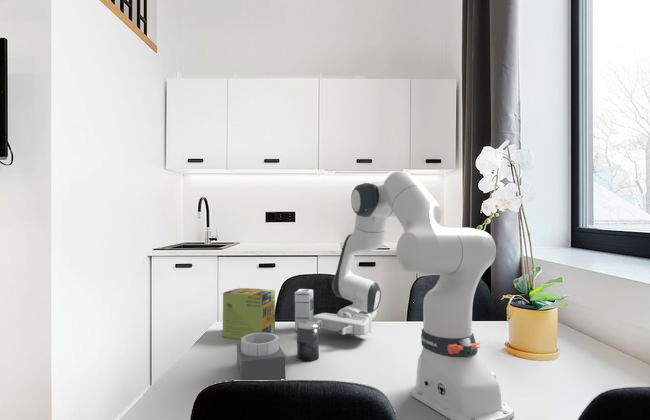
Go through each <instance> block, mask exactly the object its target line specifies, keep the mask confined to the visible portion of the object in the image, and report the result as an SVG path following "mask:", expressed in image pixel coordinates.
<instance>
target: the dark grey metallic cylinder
mask: <svg viewBox="0 0 650 420" xmlns="http://www.w3.org/2000/svg"><path fill="white" fill-rule="evenodd" d="M319 336H320V329H319V324H318V322H315V321H302V322H299V323H298V327H297V331H296V338H297V339H296V340H297V341H296V342H297V344H296V346H297V347H296V349H297V350H296V351H297V352H296V356H297V357H296V359H297V360H298V361H300V362H304V363H311V362H316V361H318V360H319V358H320V337H319Z"/></svg>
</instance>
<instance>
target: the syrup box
mask: <svg viewBox="0 0 650 420" xmlns="http://www.w3.org/2000/svg"><path fill="white" fill-rule="evenodd" d="M314 306H315V305H314V289H310V288H298V290H297V291H295V292H294V326H295V327H294V328H295V330H294V331H295V332H297V327H298V323H299V322H302V321H312V317H313V316H314V315H315V313H314V312H315V311H314V310H315V309H314Z"/></svg>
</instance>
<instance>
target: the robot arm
mask: <svg viewBox="0 0 650 420" xmlns="http://www.w3.org/2000/svg"><path fill="white" fill-rule="evenodd" d="M350 201H351V208H352V210H353V212H354V214H356V215H355V221H354V223H355V224H354V229H353V232H352V233H350V234H348V235H347V237H346V238H345V240H344V242H343V245H342V248H341V251H340V255H339V260H338V264H337V267H336V272H335V274H334V276H333V279H332V282H331V288H332V291H333V294H334V295H335V296H336V297H338V298H342V299H344V300H348V301H349V302H352V304H350V305H348V306H345V307H343V308H340V309H339V310H338V311H337V313H329V312H321V313H318V314H314V316H313V317H312V321H315V322H318V324H319V330H321V329H325V330H329V331H334V332H339V335H348V334H350V335H357V336H366V335H368V334H370V333H372V325H373V324H372V322H373V320H374V319H375V318H376V316H377V313H378V308H379V305H380V303H381V299H382V298H381V297H382V291H381V288H380V285H379V283H378V282H377V281H374V280H371V279H368V278H366V277H362V276H360V275H357V274H354V273H353V272H352V270H351V269H352V265H353V262H354V258H355V254H357V253H369V252H373V251H375V250H378V249H379V248H381V247H382V246H383V245H384V243H385V242H386V238H387V232H388V224H389V223H388V222H389V221H388V219H389V217H396V219H397V221H398V222H399V223H400V225H401V227H402V228H403V233H402V234H401V235H400V237H399V238H398V240H397V244H396V247H395V248H396V249H395V250H396V251H395V252H396V253H395V254H396V259H397V261H398V263H399V265H400V267H401V268H402V269H403V270H404V271H405V272H406V273H412V274H417V275H422V276H423V275H424V276H432V275H439V278H438V280H437V282H436V284H435V285H434V287H432V289H429V291H428V292H426V294H425V295H424V298H423V300H422V302H423V305H422V306H423V309H422V310H423V311H422V312H423V314H422V315H423V316H422V317H423V320H422V321H423V325H422V326H423V327H422V329H421V334H420V339H421V341H420V342H421V345H422V349H421V353H420V354H419V357H418V359H417V366H416V367H417V368H416V379H415V387H414V388H413V389H412V390H411V396H412V397H413V398H414V399H416V400H418V401H420V402H421V403H423V404H424V405H426V406H428V407H430V408H431V409H433V410H434V411H436V412H438V413H439V414H441V415H442V416H444V417H446V419H447V418H448V419H449V420H511V419H513V417H514V416H515V411H514V408H512V407H511V406H510V405H508V403H506V402H505V401H504V400H503V399H502V393H501V391H502V390H501V388H500V387H501V386H500V384H499V381H498V380H497V377H496V374H495V372H493V371H491V370H490V369H489V368H488V366H487V365H486V363H485V362H484V361H483V359H482V358H481V356H480V355H479V353H478V351H479V350H478V349H480V348H481V346H478V345H481V342H476V339H475V335H474V333H473V332H472V331H473V303H474V298H475V293H476V290H477V288H478V284H479V282H480V280H481V279H482V276H483V274H485V272H486V270H487V269H488V268H489V267H490V266H491V265H493V263H494V262H495V259H496V256H497V245H496V243H495V240H494V238H493V237H492V235H491V234H490V233H488V232H487V231H485V230H481V229H478V228H473V227H447V226H446V227H445V226H442V225H440V222H441V220H442V214H443V213H442V212H443V211H442V206H441V205H440V204H439V202H438V201H437V200H436V199H435V198H434V196H433V195H432V194H431V193H430V192H429V191H428V189H427V188H426V186H424V185H423V184H422V183H421V182H420V181H419V180H418V179H417V178H416V177H414V176H413V175H411V173H410V172H409V173H408V172H407V171H403V170H402V171H395V172H392V173H391V174H389V175H388V176H387V177H386V179H384V181H377V182H370V183H369V182H363V183H361V184H358V185H356V186H355V187H354V188H353V190H352V192H351V197H350Z"/></svg>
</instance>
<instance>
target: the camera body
mask: <svg viewBox="0 0 650 420" xmlns="http://www.w3.org/2000/svg"><path fill="white" fill-rule="evenodd" d="M286 357H287V356H286V354H285V352H284V351H283V349H282V348H281V346H280V337H279V336H278V334H275V333H274V334H272V333H263V332H262V333H252V334H249V335H245V336H244V337H242V338H241V339H240V342H237V343H236V368H237V373H238V375H239V380H281V379H285V380H286V375H287V374H286V373H287V372H286V362H287V361H286Z"/></svg>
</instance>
